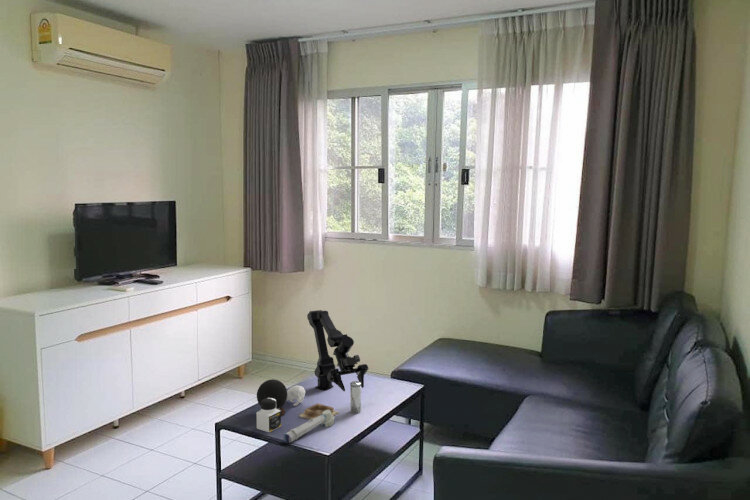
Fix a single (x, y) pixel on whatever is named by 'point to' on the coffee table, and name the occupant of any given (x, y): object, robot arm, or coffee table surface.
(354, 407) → the metal canister
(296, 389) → the white rounded lump
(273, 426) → the medicine bottle
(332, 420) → the octagon-capped white rod
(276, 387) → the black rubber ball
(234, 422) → the coffee table surface
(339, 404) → the coffee table surface
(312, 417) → the jig
